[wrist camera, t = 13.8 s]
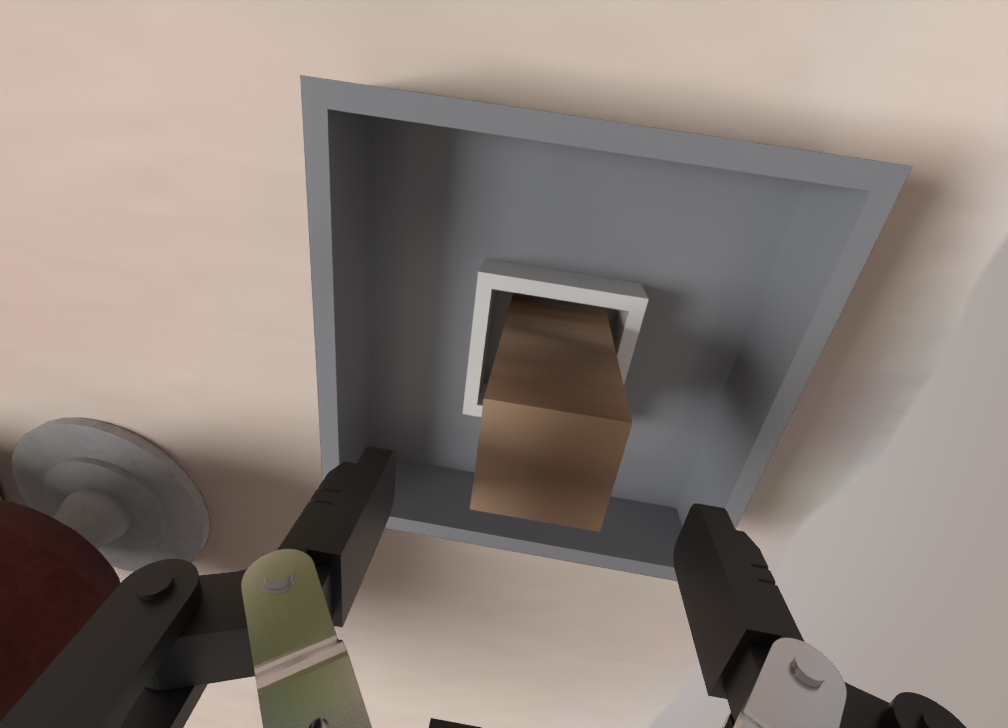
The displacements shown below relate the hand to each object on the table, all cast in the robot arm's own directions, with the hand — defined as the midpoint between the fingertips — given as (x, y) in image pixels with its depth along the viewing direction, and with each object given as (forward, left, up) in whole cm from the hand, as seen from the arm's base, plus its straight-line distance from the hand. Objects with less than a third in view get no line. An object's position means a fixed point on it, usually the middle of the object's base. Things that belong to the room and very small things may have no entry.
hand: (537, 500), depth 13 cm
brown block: (0, 0, -10) cm, 10 cm away
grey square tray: (0, 0, -11) cm, 11 cm away
